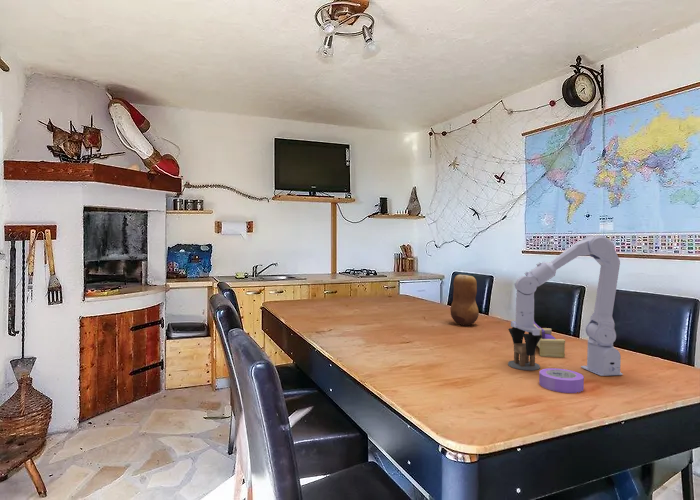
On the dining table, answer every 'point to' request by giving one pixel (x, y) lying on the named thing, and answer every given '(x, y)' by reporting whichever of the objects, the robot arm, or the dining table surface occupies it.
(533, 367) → the mat
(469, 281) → the butternut squash
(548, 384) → the masking tape
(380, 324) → the dining table surface
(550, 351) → the toy sofa
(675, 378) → the dining table surface
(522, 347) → the wooden toy stool
